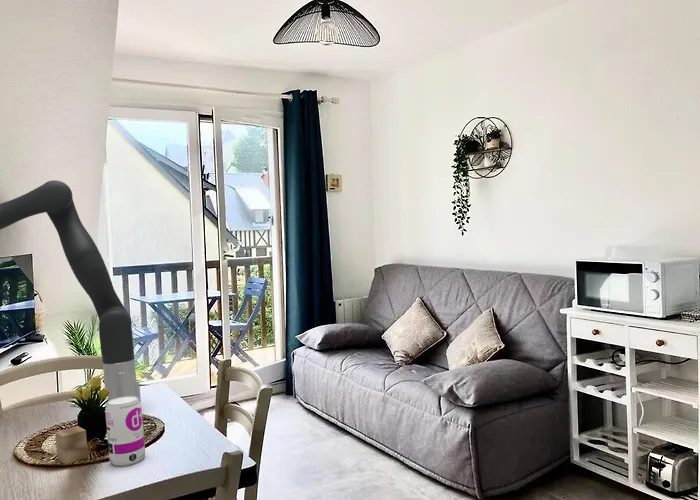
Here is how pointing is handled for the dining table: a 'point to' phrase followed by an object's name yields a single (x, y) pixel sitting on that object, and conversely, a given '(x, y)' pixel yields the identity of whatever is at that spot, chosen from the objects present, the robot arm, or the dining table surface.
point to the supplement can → (125, 430)
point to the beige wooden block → (71, 444)
